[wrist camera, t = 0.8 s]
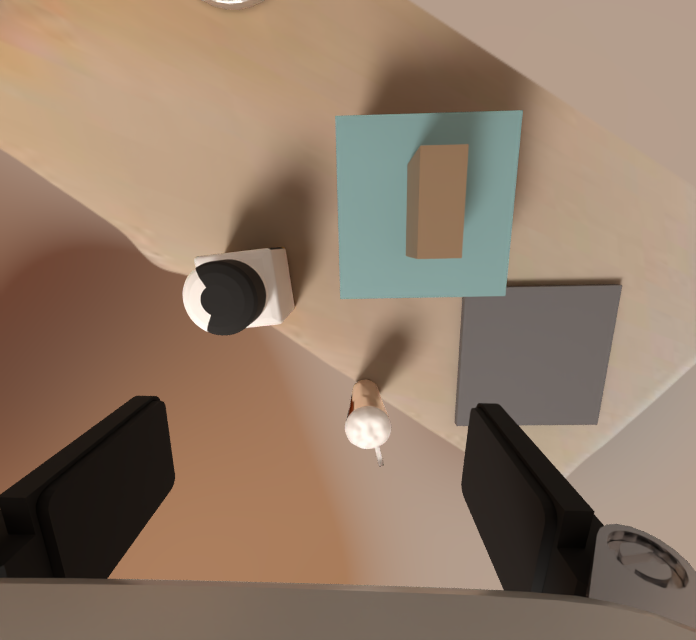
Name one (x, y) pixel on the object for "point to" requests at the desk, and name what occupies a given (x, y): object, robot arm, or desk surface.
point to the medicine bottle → (239, 290)
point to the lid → (426, 203)
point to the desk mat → (537, 352)
